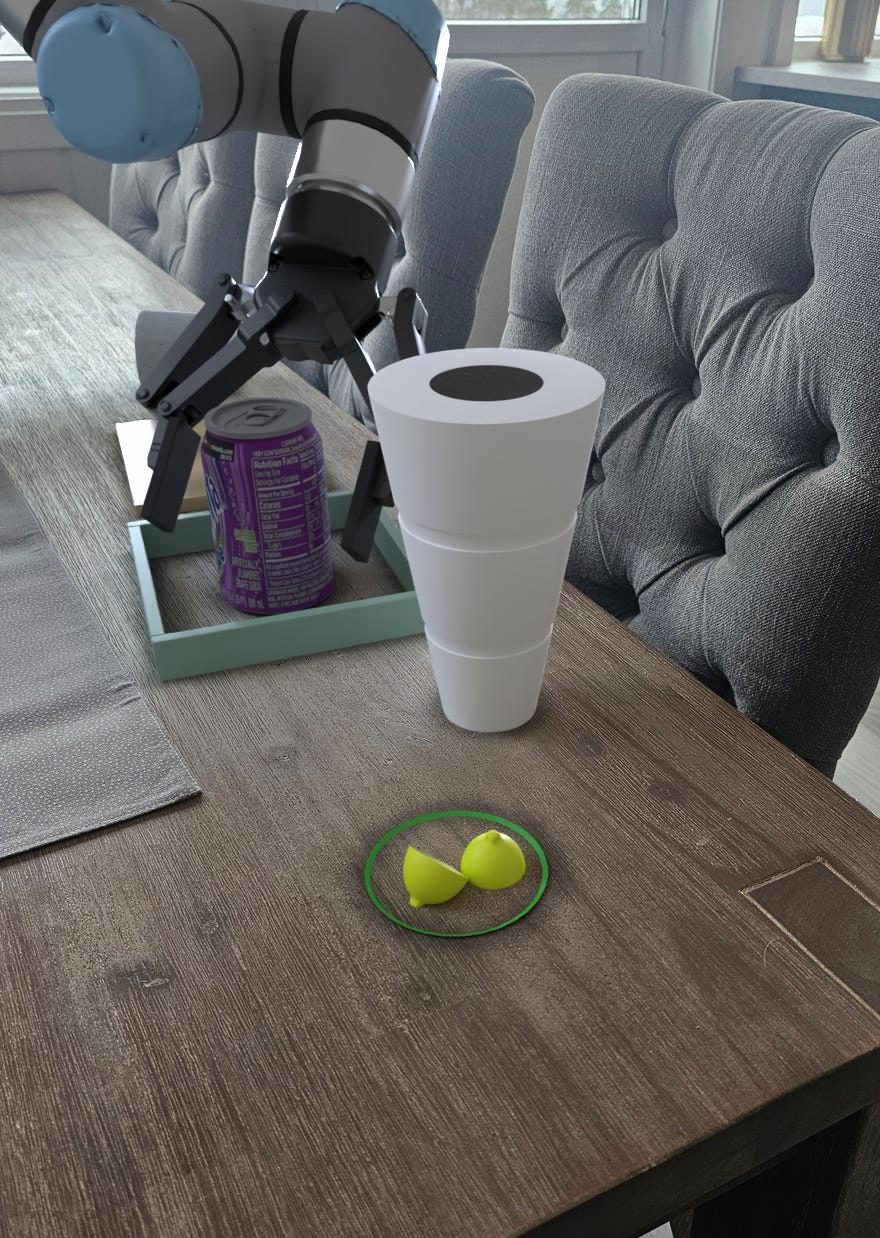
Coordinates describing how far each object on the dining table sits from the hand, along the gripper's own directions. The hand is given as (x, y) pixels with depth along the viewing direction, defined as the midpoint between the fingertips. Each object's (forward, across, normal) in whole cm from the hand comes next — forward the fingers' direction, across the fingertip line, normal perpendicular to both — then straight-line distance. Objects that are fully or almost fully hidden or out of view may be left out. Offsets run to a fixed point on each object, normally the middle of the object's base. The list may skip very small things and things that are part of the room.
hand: (252, 539), depth 67 cm
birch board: (-11, +15, -18) cm, 26 cm away
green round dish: (+17, -20, +9) cm, 27 cm away
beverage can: (+2, 0, -5) cm, 6 cm away
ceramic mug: (-22, +27, -30) cm, 46 cm away
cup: (+8, -17, 0) cm, 19 cm away
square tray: (+2, 0, -5) cm, 6 cm away
